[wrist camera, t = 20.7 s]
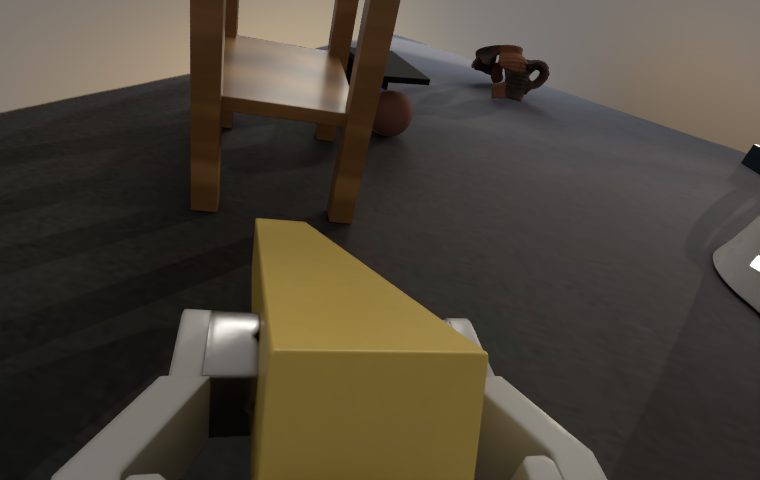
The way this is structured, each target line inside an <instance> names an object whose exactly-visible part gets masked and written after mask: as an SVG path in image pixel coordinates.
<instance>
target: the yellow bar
mask: <svg viewBox="0 0 760 480" xmlns="http://www.w3.org/2000/svg"><path fill="white" fill-rule="evenodd" d="M252 312H255V313H260V333H259V369H258V382H257V391H256V400H255V405H254V419H253V428H252V435H251V480H474V474H475V466H476V458H477V449H478V441H479V433H480V424H481V416H482V408H483V400H484V391H485V383H486V375H487V366H488V354H487V352H485V351H484V350H483V349H481V348H480V347H479V346H477V345H476V344H474V343H473V342H472V341H470V340H469V339H467V338H466V337H465V336H463V335H462V334H460V333H459V332H458V331H456V330H455V329H453V328H452V327H451V326H449V325H448V324H447V323H445V322H444V321H442V320H441V319H440V318H438V317H437V316H435V315H434V314H433V313H431V312H430V311H428V310H427V309H426V308H424V307H423V306H421V305H420V304H419V303H417V302H416V301H415V300H413V299H412V298H410V297H409V296H408V295H406V294H405V293H403V292H402V291H401V290H399V289H398V288H396V287H395V286H394V285H392V284H391V283H389V282H388V281H387V280H385V279H384V278H382V277H381V276H380V275H378V274H377V273H376V272H374V271H373V270H371V269H370V268H369V267H367V266H366V265H364V264H363V263H362V262H360V261H359V260H357V259H356V258H355V257H353V256H352V255H350V254H349V253H348V252H346V251H345V250H344V249H342V248H341V247H339V246H338V245H337V244H335V243H334V242H332V241H331V240H330V239H328V238H327V237H325V236H324V235H323V234H321V233H320V232H318V231H317V230H316V229H314V228H313V227H312V226H310V225H309V224H307V223H306V222H300V221H287V220H275V219H262V218H256V219H255V231H254V245H253V258H252Z"/></svg>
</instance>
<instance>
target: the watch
mask: <svg viewBox="0 0 760 480" xmlns="http://www.w3.org/2000/svg"><path fill="white" fill-rule="evenodd" d="M741 163H743V164H745V165H746V166H748V167H749V168H751V169H753V170H754V171H756V172H758V173H759V174H760V145H756V144H754V145H753V146H752V148H751V149H750V151H749V152H748V153H747V155H746V156H745V158H744V159H743V161H742V162H741Z"/></svg>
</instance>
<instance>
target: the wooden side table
mask: <svg viewBox="0 0 760 480" xmlns="http://www.w3.org/2000/svg"><path fill="white" fill-rule="evenodd" d="M358 1H359V0H335V5H334V11H333V18H332V25H331V31H330V38H329V45H328V51H324V50H318V49H313V48H307V47H301V46H296V45H290V44H284V43H278V42H273V41H267V40H262V39H256V38H250V37H245V36H239V35H237V29H238V8H239V0H190V103H191V210H197V211H209V212H217V209H218V204H219V193H220V163H221V134H222V127H224V128H232V124H233V113H234V112H238V113H246V114H253V115H260V116H268V117H275V118H282V119H289V120H297V121H304V122H311V123H317V125H316V131H315V132H316V139H318V140H325V141H334V138H335V133H336V127H337V126H341V127H342V129H341V135H340V140H339V146H338V151H337V157H336V162H335V168H334V173H333V179H332V184H331V190H330V195H329V201H328V207H327V213H328V219H329V222H336V223H348V224H351V223H352V219H353V214H354V210H355V205H356V200H357V196H358V191H359V187H360V182H361V178H362V173H363V169H364V164H365V159H366V155H367V150H368V146H369V141H370V137H371V132H372V128H373V123H374V118H375V114H376V109H377V105H378V100H379V96H380V91H381V86H382V82H383V77H384V73H385V68H386V64H387V59H388V55H389V50H390V45H391V41H392V36H393V31H394V27H395V23H396V18H397V13H398V9H399V4H400V0H365V3H364V8H363V14H362V19H361V25H360V31H359V36H358V41H357V47H356V52H355V58H354V63H353V69H352V74H351V80H350V85H349V84H348V82H347V79H346V76H345V75H346V70H347V64H348V58H349V53H350V47H351V41H352V35H353V30H354V24H355V18H356V12H357V7H358Z"/></svg>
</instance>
